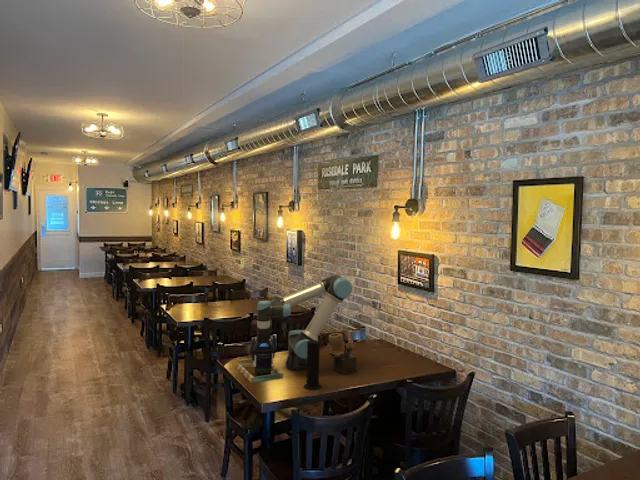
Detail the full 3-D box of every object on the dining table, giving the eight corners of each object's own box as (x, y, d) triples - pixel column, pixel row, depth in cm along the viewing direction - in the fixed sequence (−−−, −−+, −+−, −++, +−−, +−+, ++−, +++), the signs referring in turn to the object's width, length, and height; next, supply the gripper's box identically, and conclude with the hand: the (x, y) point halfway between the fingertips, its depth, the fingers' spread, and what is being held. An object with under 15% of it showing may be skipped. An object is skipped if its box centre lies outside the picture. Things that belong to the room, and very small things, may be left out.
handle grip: (320, 383, 269) (303, 383, 268) (321, 337, 268) (303, 337, 267) (322, 390, 259) (304, 390, 258) (323, 342, 258) (304, 342, 257)
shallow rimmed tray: (236, 368, 293) (236, 360, 293) (265, 364, 302) (265, 356, 302) (252, 383, 268) (252, 374, 267) (283, 378, 276) (283, 370, 276)
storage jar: (269, 370, 285) (269, 345, 284) (273, 375, 276) (273, 350, 275) (252, 371, 281) (253, 347, 281) (256, 377, 272) (257, 351, 271)
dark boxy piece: (331, 370, 292) (332, 341, 291) (345, 367, 298) (346, 339, 297) (347, 377, 279) (348, 347, 278) (362, 374, 286) (362, 345, 285)
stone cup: (325, 353, 327) (325, 332, 326) (339, 351, 333) (340, 330, 332) (336, 359, 314) (337, 337, 313) (351, 357, 320) (352, 335, 319)
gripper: (278, 324, 286) (278, 360, 287) (243, 327, 275) (242, 365, 276) (283, 326, 279) (283, 364, 280) (247, 330, 269) (246, 369, 270)
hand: (263, 364), depth 278 cm, fingers closed on storage jar, 10 cm apart
